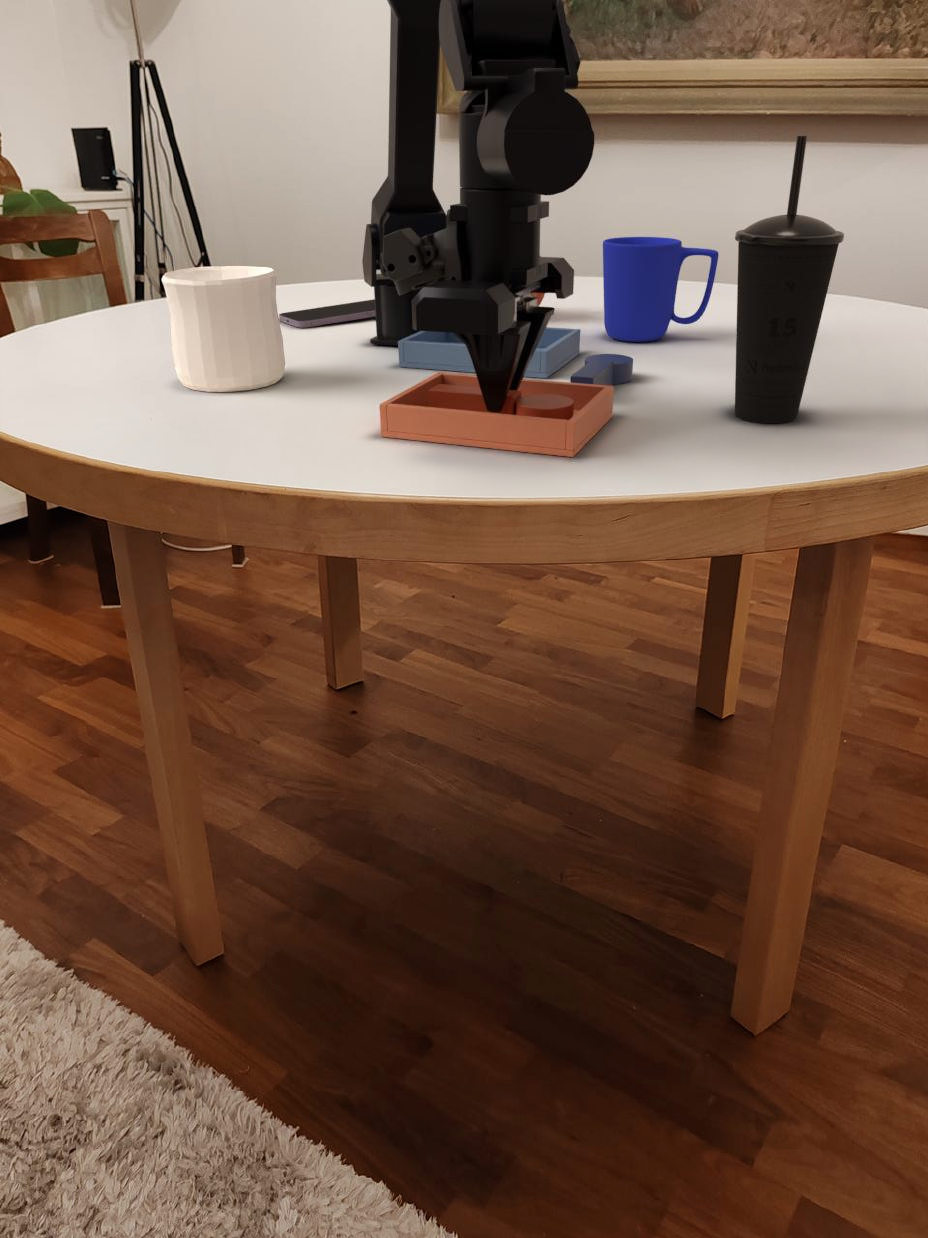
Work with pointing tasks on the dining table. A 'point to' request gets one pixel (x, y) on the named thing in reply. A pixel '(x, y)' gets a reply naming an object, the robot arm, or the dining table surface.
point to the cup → (225, 327)
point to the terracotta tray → (498, 418)
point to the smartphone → (329, 314)
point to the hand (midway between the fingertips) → (499, 407)
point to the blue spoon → (604, 370)
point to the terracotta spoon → (513, 404)
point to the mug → (646, 286)
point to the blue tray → (454, 356)
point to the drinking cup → (780, 305)
